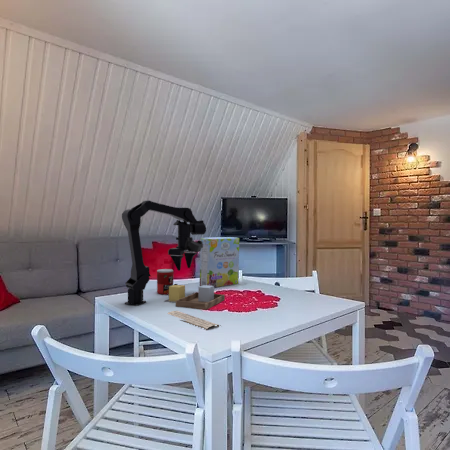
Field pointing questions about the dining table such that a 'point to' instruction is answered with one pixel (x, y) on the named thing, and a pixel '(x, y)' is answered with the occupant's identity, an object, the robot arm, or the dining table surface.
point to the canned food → (164, 280)
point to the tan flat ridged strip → (192, 319)
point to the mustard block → (176, 292)
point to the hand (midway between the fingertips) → (184, 269)
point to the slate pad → (170, 301)
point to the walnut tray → (193, 301)
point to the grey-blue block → (205, 293)
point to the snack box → (219, 261)
